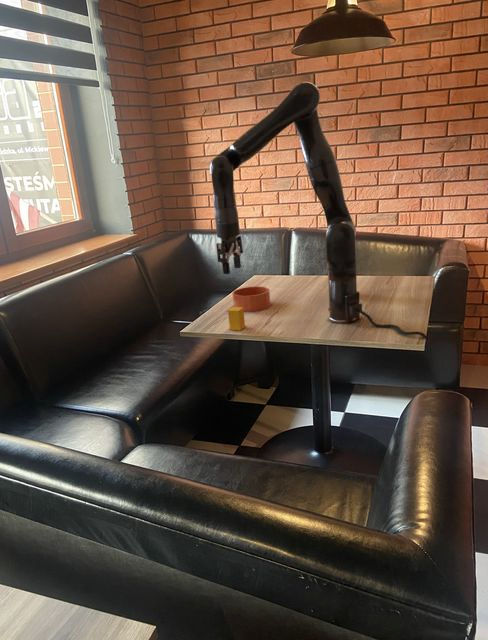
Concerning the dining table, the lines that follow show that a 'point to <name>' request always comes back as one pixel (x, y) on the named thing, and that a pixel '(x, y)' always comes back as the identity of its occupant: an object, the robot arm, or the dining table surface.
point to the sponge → (236, 318)
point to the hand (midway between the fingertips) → (232, 270)
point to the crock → (251, 298)
